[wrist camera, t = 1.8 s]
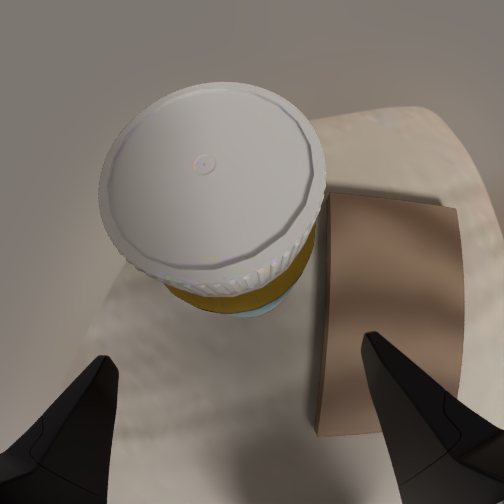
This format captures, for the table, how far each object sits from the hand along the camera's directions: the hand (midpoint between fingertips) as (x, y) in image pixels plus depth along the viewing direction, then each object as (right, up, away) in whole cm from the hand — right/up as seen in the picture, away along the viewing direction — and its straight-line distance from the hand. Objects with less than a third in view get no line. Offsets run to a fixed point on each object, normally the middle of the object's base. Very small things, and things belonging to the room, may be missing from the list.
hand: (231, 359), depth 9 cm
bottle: (0, +2, +13) cm, 13 cm away
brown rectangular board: (+12, -1, +11) cm, 16 cm away
